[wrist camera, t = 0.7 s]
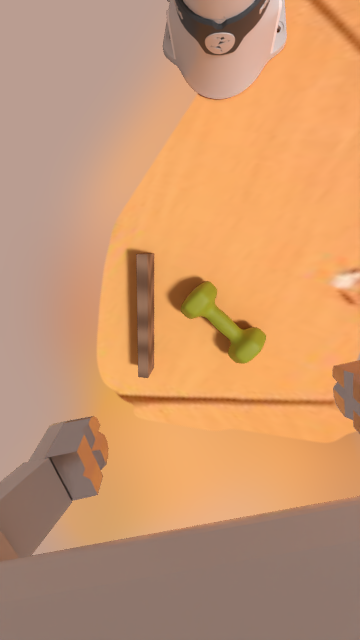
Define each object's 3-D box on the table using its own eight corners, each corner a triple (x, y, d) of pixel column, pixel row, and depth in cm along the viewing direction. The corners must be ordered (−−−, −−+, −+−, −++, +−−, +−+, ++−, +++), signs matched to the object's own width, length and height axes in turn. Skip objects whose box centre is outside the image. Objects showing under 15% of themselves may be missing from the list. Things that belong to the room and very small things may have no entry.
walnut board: (144, 253, 54) (136, 254, 49) (154, 253, 53) (147, 254, 49) (145, 366, 60) (138, 377, 55) (153, 367, 60) (148, 377, 55)
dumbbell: (179, 303, 55) (173, 311, 49) (207, 274, 53) (205, 279, 46) (237, 358, 57) (239, 374, 50) (267, 332, 54) (273, 345, 48)
